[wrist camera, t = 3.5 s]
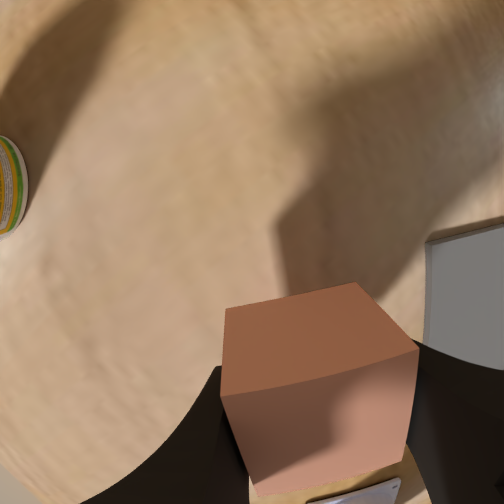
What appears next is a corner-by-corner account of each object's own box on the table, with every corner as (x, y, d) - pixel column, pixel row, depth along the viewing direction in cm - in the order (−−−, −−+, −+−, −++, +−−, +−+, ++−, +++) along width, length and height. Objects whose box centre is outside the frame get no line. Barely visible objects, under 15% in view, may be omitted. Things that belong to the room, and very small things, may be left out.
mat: (530, 359, 16) (534, 363, 16) (412, 420, 16) (415, 426, 16) (553, 210, 13) (559, 211, 13) (425, 242, 13) (432, 245, 13)
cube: (359, 381, 12) (401, 460, 7) (251, 406, 12) (258, 496, 7) (355, 281, 11) (419, 348, 6) (225, 308, 11) (220, 396, 6)
